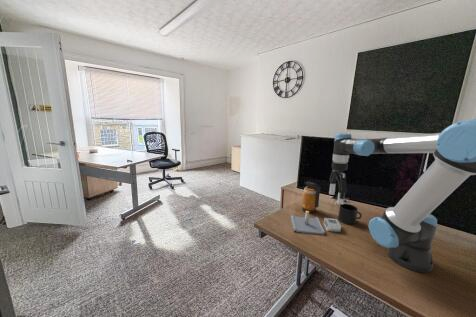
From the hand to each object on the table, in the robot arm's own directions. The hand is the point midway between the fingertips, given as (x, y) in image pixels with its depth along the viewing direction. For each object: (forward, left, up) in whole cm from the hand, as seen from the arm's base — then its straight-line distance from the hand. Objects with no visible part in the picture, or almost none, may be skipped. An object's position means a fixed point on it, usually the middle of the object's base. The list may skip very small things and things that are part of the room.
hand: (335, 198), depth 108 cm
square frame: (-2, +1, -17) cm, 17 cm away
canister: (+18, +9, -17) cm, 27 cm away
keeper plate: (-2, +15, -17) cm, 23 cm away
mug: (+8, -12, -17) cm, 23 cm away
